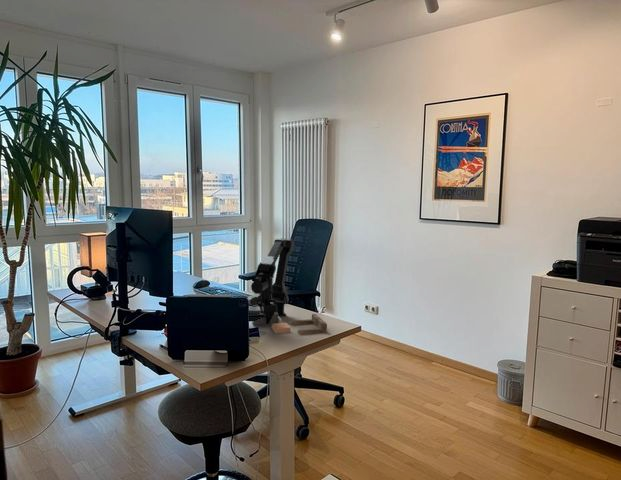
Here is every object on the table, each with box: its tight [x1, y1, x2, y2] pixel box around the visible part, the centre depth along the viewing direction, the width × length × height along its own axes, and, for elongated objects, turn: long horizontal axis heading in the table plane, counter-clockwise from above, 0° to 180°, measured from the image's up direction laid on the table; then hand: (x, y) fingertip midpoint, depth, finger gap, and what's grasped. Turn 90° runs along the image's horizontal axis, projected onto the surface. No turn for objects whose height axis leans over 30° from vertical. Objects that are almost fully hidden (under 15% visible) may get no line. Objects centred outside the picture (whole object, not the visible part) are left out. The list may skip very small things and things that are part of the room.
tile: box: [271, 322, 292, 334], centre depth 196 cm, size 7×7×2 cm
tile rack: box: [289, 313, 328, 335], centre depth 201 cm, size 15×13×4 cm
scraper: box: [251, 312, 282, 326], centre depth 204 cm, size 13×7×5 cm, turn 109°
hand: (265, 320), depth 204 cm, fingers open, 9 cm apart
